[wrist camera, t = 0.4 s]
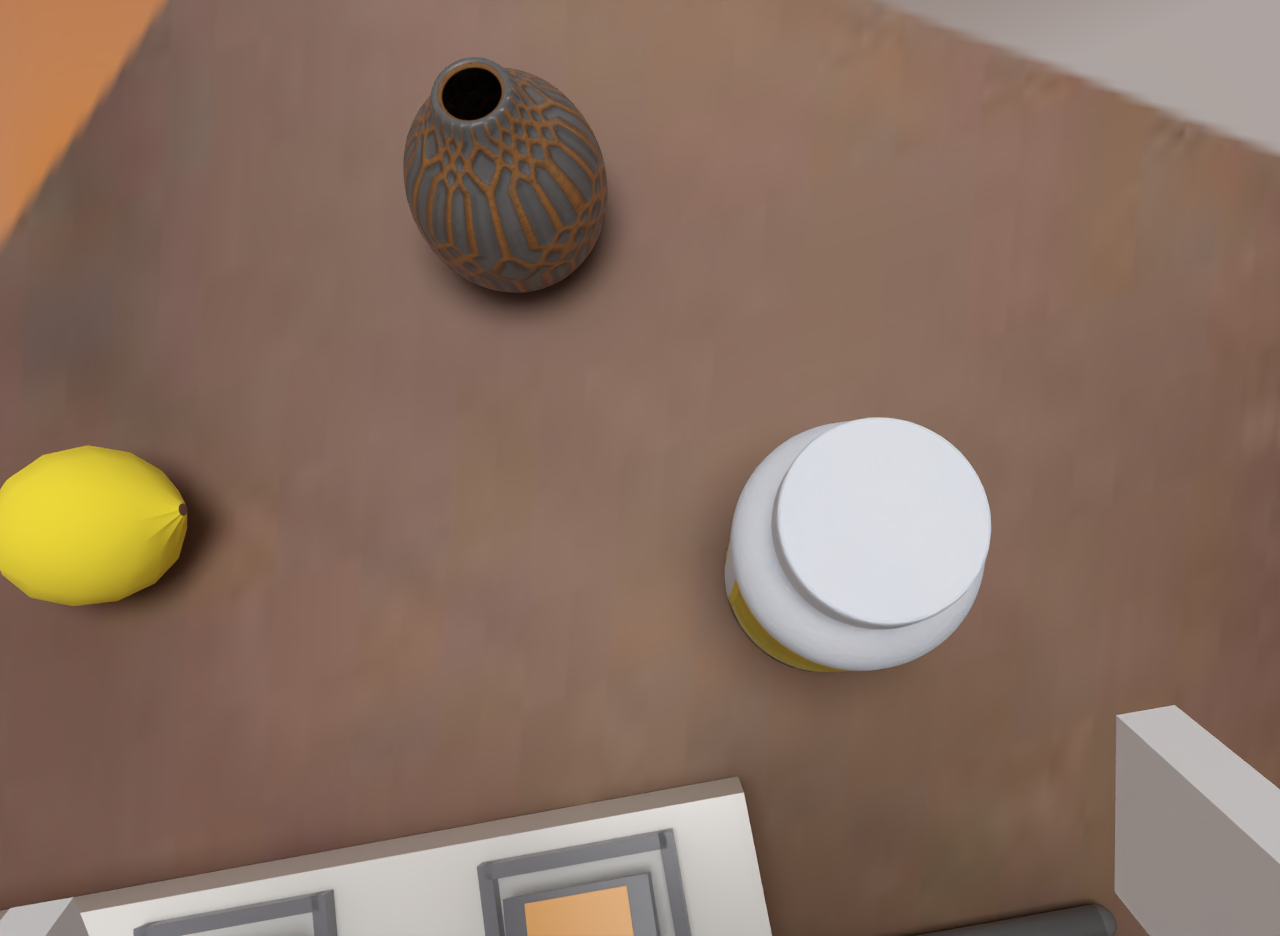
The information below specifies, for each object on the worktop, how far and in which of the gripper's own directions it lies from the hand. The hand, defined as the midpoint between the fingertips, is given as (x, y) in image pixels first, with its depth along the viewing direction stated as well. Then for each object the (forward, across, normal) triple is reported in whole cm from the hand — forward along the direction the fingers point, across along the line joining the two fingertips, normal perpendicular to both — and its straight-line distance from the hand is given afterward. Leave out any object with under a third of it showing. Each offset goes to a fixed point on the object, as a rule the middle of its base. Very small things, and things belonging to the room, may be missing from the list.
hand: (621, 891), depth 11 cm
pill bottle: (+19, -7, +5) cm, 21 cm away
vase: (+26, +1, -8) cm, 28 cm away
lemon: (+23, +17, +1) cm, 28 cm away
